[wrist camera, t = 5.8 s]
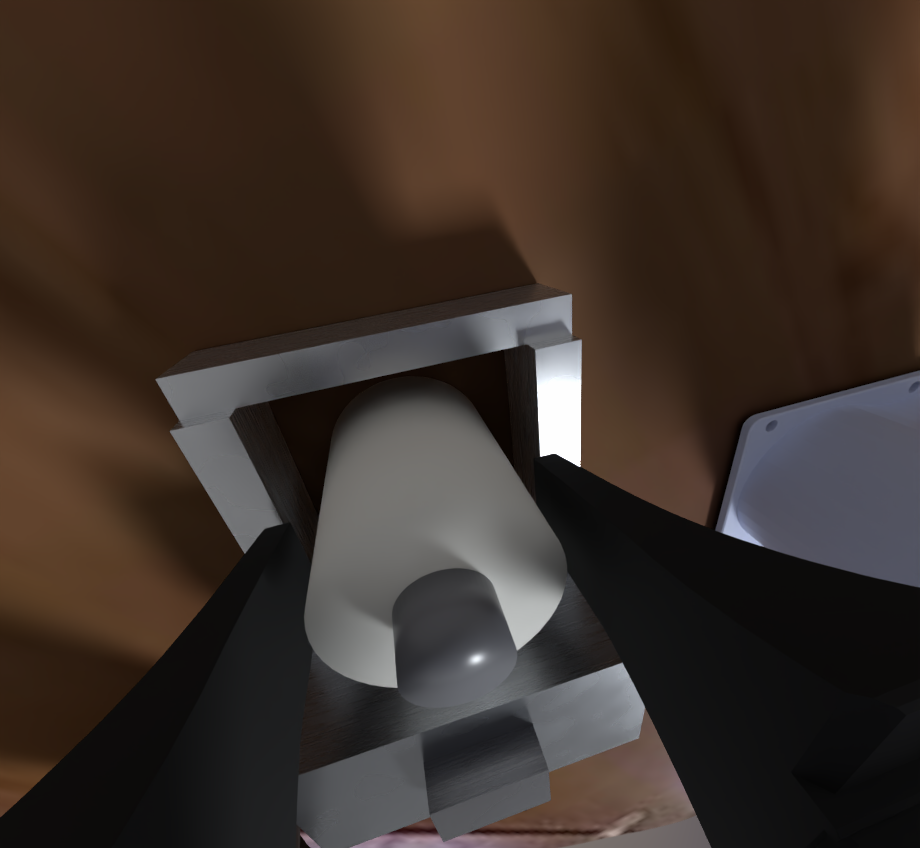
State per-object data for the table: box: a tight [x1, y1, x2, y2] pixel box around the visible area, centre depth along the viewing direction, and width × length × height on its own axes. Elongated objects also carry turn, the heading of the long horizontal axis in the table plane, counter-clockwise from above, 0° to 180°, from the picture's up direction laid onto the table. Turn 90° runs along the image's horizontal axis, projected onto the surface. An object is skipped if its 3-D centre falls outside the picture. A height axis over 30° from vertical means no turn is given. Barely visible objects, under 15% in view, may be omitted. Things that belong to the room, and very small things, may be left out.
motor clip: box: [155, 283, 645, 848], centre depth 11 cm, size 12×14×7 cm
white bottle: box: [304, 376, 567, 708], centre depth 9 cm, size 5×5×7 cm
